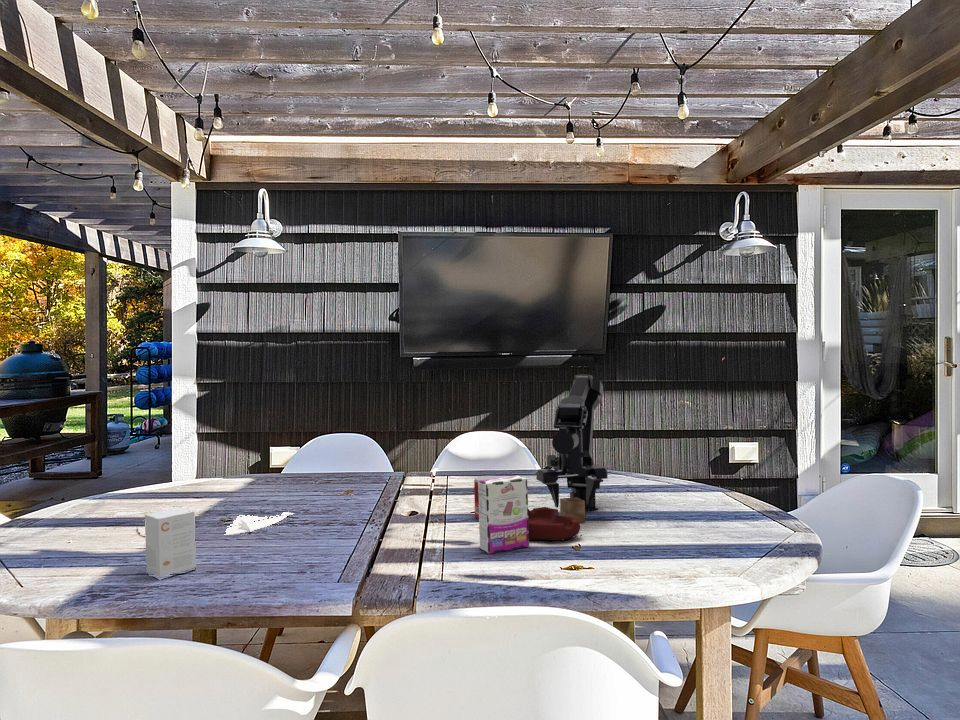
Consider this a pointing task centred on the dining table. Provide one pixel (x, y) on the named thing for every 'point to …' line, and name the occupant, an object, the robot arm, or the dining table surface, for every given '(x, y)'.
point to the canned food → (477, 492)
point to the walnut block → (573, 508)
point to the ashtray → (551, 525)
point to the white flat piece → (253, 523)
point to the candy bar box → (503, 514)
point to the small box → (170, 541)
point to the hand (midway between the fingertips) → (572, 505)
